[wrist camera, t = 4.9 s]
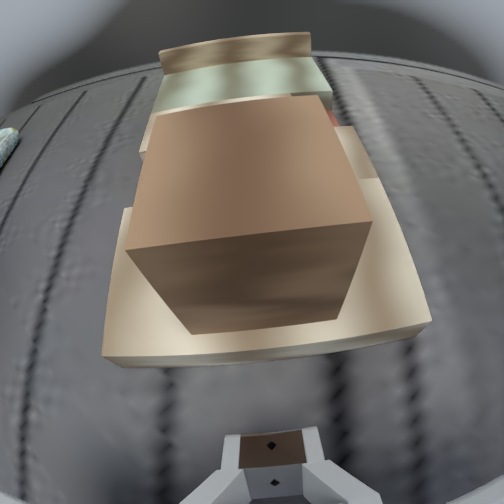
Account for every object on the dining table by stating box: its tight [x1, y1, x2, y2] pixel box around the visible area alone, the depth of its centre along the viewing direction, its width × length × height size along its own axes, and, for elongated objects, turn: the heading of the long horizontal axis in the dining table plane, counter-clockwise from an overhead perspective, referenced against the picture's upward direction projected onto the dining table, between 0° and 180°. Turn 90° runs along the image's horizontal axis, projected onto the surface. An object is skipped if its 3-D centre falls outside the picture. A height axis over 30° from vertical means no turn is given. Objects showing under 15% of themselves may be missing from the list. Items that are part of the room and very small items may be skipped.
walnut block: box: [125, 95, 373, 335], centre depth 13 cm, size 7×7×8 cm
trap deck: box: [102, 32, 432, 368], centre depth 23 cm, size 17×32×6 cm, turn 5°
